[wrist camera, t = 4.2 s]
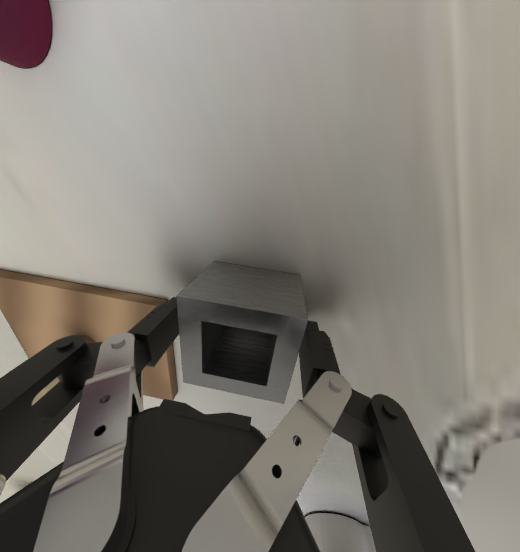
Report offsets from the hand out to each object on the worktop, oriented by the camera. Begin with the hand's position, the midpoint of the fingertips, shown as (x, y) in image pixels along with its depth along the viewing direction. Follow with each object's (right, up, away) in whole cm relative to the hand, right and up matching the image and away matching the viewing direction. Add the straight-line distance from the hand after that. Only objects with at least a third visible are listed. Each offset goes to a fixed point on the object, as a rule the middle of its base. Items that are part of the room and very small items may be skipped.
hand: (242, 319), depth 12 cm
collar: (+1, +1, +2) cm, 2 cm away
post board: (-15, -3, +6) cm, 16 cm away
